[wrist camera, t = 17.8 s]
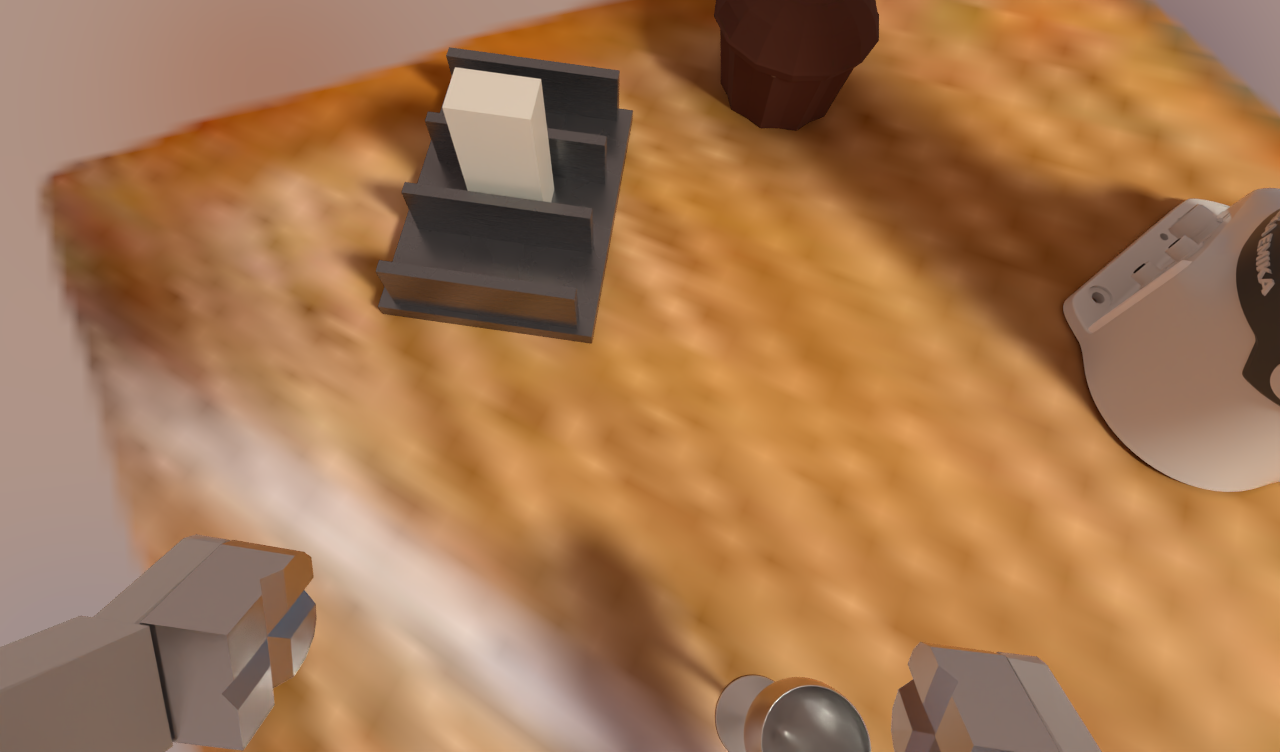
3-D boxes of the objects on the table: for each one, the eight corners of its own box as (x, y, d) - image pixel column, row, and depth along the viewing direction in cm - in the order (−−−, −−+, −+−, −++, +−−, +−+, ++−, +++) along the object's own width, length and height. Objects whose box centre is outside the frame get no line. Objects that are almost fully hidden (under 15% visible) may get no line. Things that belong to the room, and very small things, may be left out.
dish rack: (451, 95, 53) (436, 41, 48) (632, 120, 52) (634, 68, 48) (382, 313, 46) (357, 274, 41) (591, 343, 45) (589, 307, 41)
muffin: (865, 61, 56) (916, -57, 47) (829, 162, 52) (877, 55, 43) (727, 17, 57) (750, -106, 48) (682, 113, 53) (697, -1, 44)
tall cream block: (484, 179, 49) (455, 67, 39) (554, 188, 49) (541, 79, 39) (474, 214, 48) (442, 107, 38) (546, 224, 47) (530, 119, 38)
